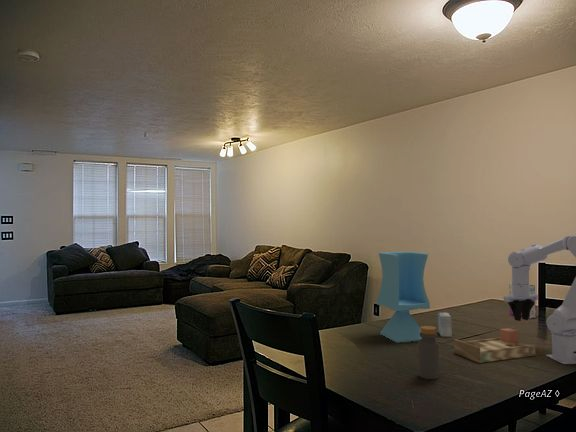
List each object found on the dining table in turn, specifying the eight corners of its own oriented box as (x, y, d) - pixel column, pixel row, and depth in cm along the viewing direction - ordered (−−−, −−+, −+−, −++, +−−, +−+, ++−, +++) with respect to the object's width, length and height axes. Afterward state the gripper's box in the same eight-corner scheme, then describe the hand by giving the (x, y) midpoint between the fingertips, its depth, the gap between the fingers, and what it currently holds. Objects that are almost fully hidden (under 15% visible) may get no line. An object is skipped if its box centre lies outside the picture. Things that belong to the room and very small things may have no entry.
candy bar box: (536, 318, 219) (535, 284, 220) (529, 319, 217) (528, 285, 218) (516, 314, 229) (515, 282, 230) (509, 315, 227) (508, 282, 228)
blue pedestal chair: (395, 343, 175) (393, 254, 176) (377, 334, 190) (375, 252, 191) (430, 340, 180) (428, 253, 180) (409, 331, 195) (408, 251, 195)
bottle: (423, 371, 142) (422, 324, 142) (441, 375, 138) (440, 327, 138) (416, 376, 137) (415, 327, 138) (434, 380, 134) (433, 330, 134)
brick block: (509, 339, 169) (509, 328, 169) (518, 342, 165) (518, 330, 165) (500, 340, 167) (500, 329, 167) (509, 343, 163) (509, 331, 163)
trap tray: (507, 346, 170) (507, 333, 170) (535, 355, 158) (534, 341, 158) (454, 353, 162) (454, 339, 162) (479, 362, 150) (478, 347, 150)
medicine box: (451, 337, 185) (451, 316, 185) (440, 336, 186) (440, 315, 186) (448, 332, 193) (448, 312, 193) (438, 332, 194) (437, 312, 194)
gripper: (526, 281, 174) (527, 316, 174) (497, 283, 170) (497, 319, 169) (542, 283, 168) (543, 320, 167) (511, 285, 163) (512, 323, 163)
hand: (521, 320), depth 168 cm, fingers open, 3 cm apart
